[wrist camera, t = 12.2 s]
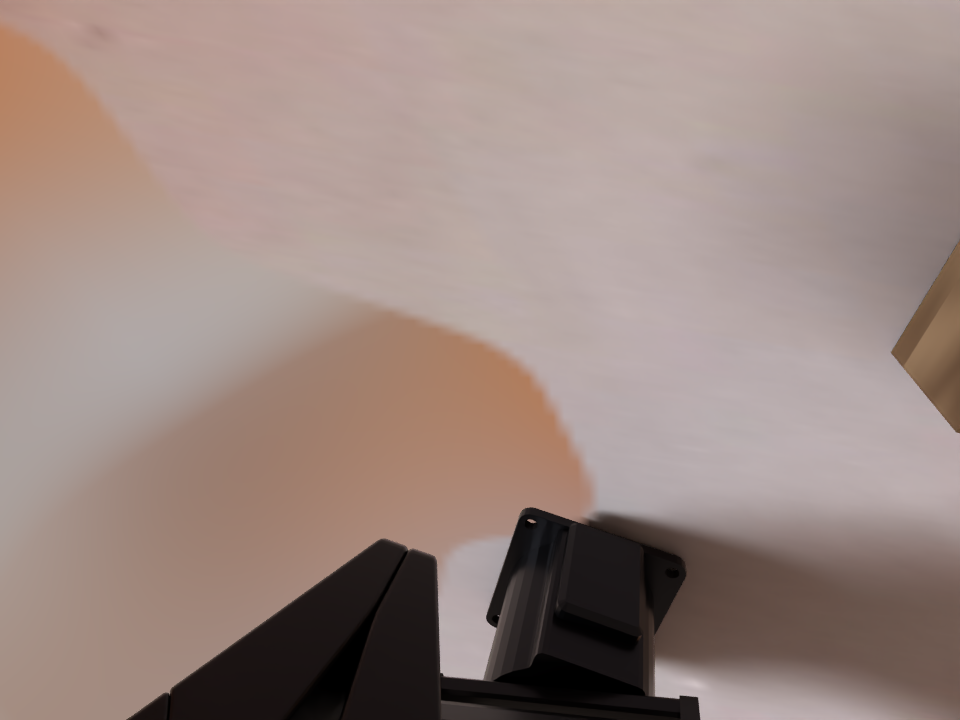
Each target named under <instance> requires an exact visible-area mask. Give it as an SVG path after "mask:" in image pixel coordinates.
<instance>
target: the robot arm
mask: <svg viewBox="0 0 960 720" xmlns="http://www.w3.org/2000/svg"><path fill="white" fill-rule="evenodd" d="M528 519H532V520H534V521H536V523H530V522H529V521H527V520H528ZM668 568H675V569H677V570H673V571H672V570H668ZM685 577H686V565H685V562H684V561H683V560H682V559H681V558H680V557H678V556H675V555H672V554H669V553H666V552H664V551H661V550H658V549H655V548H652V547H649V546H646V545H643V544H640V543H637V542H634V541H631V540H628V539H625V538H622V537H619V536H616V535H613V534H610V533H607V532H604V531H601V530H599V529H596V528H593V527H590V526H587V525H584V524H581V523H578V522H575V521H572V520H569V519H566V518H563V517H560V516H557V515H554V514H551V513H548V512H545V511H542V510H539V509H536V508H525V509H524V510H522V512H521V513H520V516H519V519H518V522H517V525H516V528H515V531H514V534H513V537H512V540H511V543H510V546H509V549H508V552H507V555H506V558H505V561H504V564H503V567H502V570H501V573H500V576H499V579H498V582H497V585H496V588H495V591H494V594H493V597H492V600H491V603H490V606H489V609H488V612H487V616H486V619H487V621H488V623H489V624H490V625H492V626H494V627H496V628H497V629H496V633H495V637H494V641H493V645H492V649H491V652H490V656H489V660H488V664H487V668H486V671H485V675H484V679H483V680H476V679H466V678H455V677H445V676H444V675H443V673H440V648H439V615H438V582H437V560H436V558H435V556H433V555H430V554H427V553H425V552H422V551H418V550H416V549H410V550H409V551H408V549H407V547H406V546H404V545H402V544H399V543H396V542H393V541H390V540H388V539H380V540H378V541H376V542H375V543H374V544H373V545H371V546H369V547H368V548H367V549H365V550H364V551H362V552H361V553H360V554H358V555H357V556H356V557H354V558H353V559H351V560H350V561H348V562H347V563H346V564H344V565H343V566H341V567H340V568H339V569H337V570H336V571H335V572H333V573H332V574H330V575H329V576H327V577H326V578H325V579H323V580H322V581H320V582H319V583H318V584H316V585H315V586H314V587H312V588H311V589H309V590H308V591H306V592H305V593H304V594H302V595H301V596H299V597H298V598H297V599H295V600H294V601H292V602H291V603H290V604H288V605H287V606H285V607H284V608H283V609H281V610H280V611H279V612H277V613H276V614H274V615H273V616H272V617H270V618H269V619H267V620H266V621H265V622H263V623H262V624H260V625H259V626H258V627H256V628H255V629H253V630H252V631H251V632H249V633H248V634H246V635H245V636H244V637H242V638H241V639H239V640H238V641H237V642H235V643H234V644H232V645H231V646H230V647H228V648H227V649H225V650H224V651H223V652H221V653H220V654H218V655H217V656H216V657H214V658H213V659H211V660H210V661H209V662H207V663H206V664H204V665H203V666H202V667H200V668H199V669H198V670H196V671H195V672H193V673H192V674H190V675H189V676H188V677H186V678H185V679H183V680H182V681H181V682H179V683H178V684H176V685H175V686H174V687H172V688H171V690H170V695H169V693H163V694H162V695H160V696H159V697H158V698H156V699H155V700H154V701H152V702H151V703H149V704H148V705H147V706H145V707H144V708H142V709H141V710H140V711H138V712H137V713H135V714H134V715H133V716H131V717H130V718H128V719H127V720H700V713H699V703H698V697H690V696H680V699H675V698H664V697H655V659H654V635H655V633H656V631H657V629H658V628H659V626H660V624H661V622H662V620H663V618H664V616H665V615H666V613H667V611H668V609H669V607H670V605H671V603H672V602H673V600H674V598H675V596H676V594H677V592H678V590H679V589H680V587H681V585H682V583H683V581H684V579H685ZM497 615H499V616H497Z"/></svg>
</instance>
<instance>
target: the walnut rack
mask: <svg viewBox="0 0 960 720" xmlns="http://www.w3.org/2000/svg"><path fill="white" fill-rule="evenodd" d="M891 353H892V355H893V356H894V357H895V358H896V359H897V361H898V362H899V363H900V364H901V366H902V367H903V368H904V369H905V370H906V372H907V373H908V374H909V375H910V377H911V378H912V379H913V380H914V381H915V383H916V384H917V385H918V386H919V387H920V389H921V390H922V391H923V392H924V394H925V395H926V396H927V397H928V398H929V400H930V401H931V402H932V403H933V405H934V406H935V407H936V408H937V409H938V411H939V412H940V413H941V414H942V416H943V417H944V418H945V419H946V420H947V422H948V423H949V424H950V425H951V427H952V428H953V429H954V430H955V431H956V432H957V433H960V241H959V242H958V244H957V246H956V247H955V249H954V251H953V252H952V254H951V255H950V257H949V259H948V260H947V262H946V264H945V265H944V267H943V269H942V270H941V272H940V273H939V275H938V277H937V278H936V280H935V282H934V283H933V285H932V287H931V288H930V290H929V291H928V293H927V295H926V296H925V298H924V300H923V301H922V303H921V304H920V306H919V308H918V309H917V311H916V313H915V314H914V316H913V318H912V319H911V321H910V322H909V324H908V326H907V327H906V329H905V331H904V332H903V334H902V336H901V337H900V339H899V340H898V342H897V344H896V345H895V347H894V349H893V350H892V352H891Z"/></svg>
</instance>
